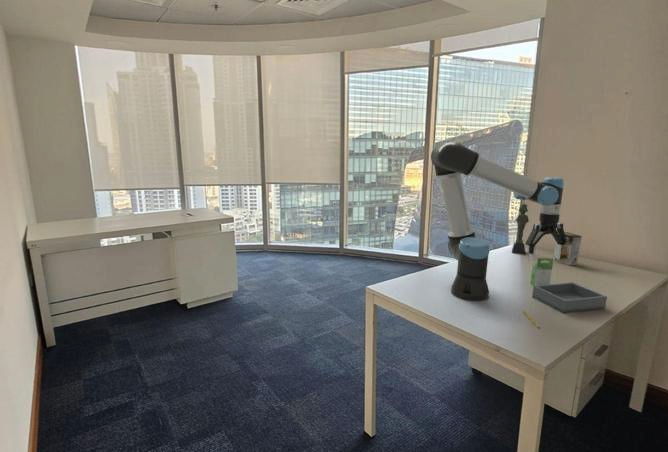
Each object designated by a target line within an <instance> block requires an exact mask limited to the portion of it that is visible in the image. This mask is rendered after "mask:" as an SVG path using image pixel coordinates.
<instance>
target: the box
mask: <svg viewBox="0 0 668 452" xmlns="http://www.w3.org/2000/svg"><path fill="white" fill-rule="evenodd" d="M532 288H533V289H532V294H531V295H532V297H531V298H533V299H534V300H537V301H539V302H541V303H543V304H544V305H547V306H548V307H550V308H552V309H554V310H556V311H558V312H560V313H562V314H568V313H578V312H585V311H587V312H588V311H595V310H596V311H597V310H604V309H606V305H607V299H608V296H606V295H605V294H601V293H600V292H597V291H594V290H593V289H590V288H588V287H585V286H582V285H579V284H578V283H575V282H572V281H571V282H561V283H550V284H549V285H538V286H533V287H532Z"/></svg>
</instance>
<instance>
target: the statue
mask: <svg viewBox="0 0 668 452" xmlns="http://www.w3.org/2000/svg"><path fill="white" fill-rule="evenodd" d="M517 211H518V212H520V214H518V215H517V217H516V219H515V221H516V223H517V239H515V242H514V243H513V245H512V248H511V249H512V250H511V253H512V254H517V255H526V247H525V243H524V239H523V237H524V229H525V227H526V225H527V223H529V222H530V219H529V216H528V215H526V213H527V212H529V210H528V204H525V203H523V204H521V205H520V207H519V209H518V210H517Z"/></svg>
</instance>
